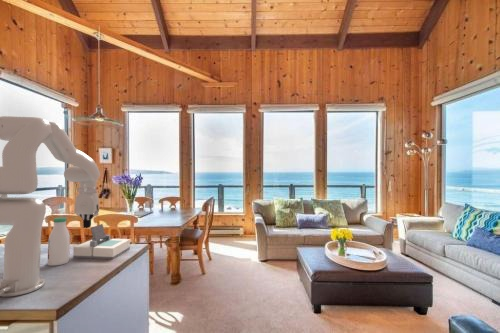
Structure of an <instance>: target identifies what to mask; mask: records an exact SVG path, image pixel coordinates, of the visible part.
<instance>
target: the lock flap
mask: <svg viewBox="0 0 500 333" xmlns="http://www.w3.org/2000/svg"><path fill="white" fill-rule="evenodd" d="M90 231H91V236H92V238H93V239H94V241H97V244H99V243H101V242H103V241H105V240H107V239H108V238H107V237H106V235H107V234H106V232H105V228H104V224H102V223H101V224H98V225H95V226H92V227H90Z"/></svg>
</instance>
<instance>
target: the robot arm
mask: <svg viewBox="0 0 500 333" xmlns="http://www.w3.org/2000/svg"><path fill="white" fill-rule="evenodd" d="M0 140H1V141H6V142H7V141H8V142H7V143H6V144H5V145H4V147H3V149H2V154H1V155H2V156H1V158H2V159H1V160H2V161H1V162H2V166H0V226H12V227H11V229H10V230H9V231H8V233H7V234H6V236H5V238H4V245H3V246H4V249H3V250H4V252H3V253H4V255H3V272H2V273H3V275H2V276H3V277H2V280H0V297H4V298H7V297H16V296H21V295H22V296H23V295H26V294H29V293H32V292H34V291H37V290H39V289H41V288H42V287H43V286H45V285H46V284H45V283H46V282H45V281H46V280H45V279H44V278H42V277H40V275H41V274H40V273H41V253H42V252H41V249H42V247H41V246H42V231H43V230H42V228H43V225H44V224H43V223H44V220H45V219H44V218H45V215H46V210H47V207H46V204H45V202H44V201H42V200H41V199H38V198H36V197H35V198H34V197H22V196H21V197H17V196H15V197H13V196H12V197H10V196H8V195H27V194H28V195H29V194H31V193H34V192H35V191H36V190H37V189H38V184H39V183H38V182H39V180H38V170H37V151H38V149H39V147H40V146H41V144H44V145H45V146H46V148H47V149H48V150H49V152H50V154H51V155H52V156H53V158H54V159H55V160H57V161H60V162H62V163H65V164H67V165H72V166H69V167H67V168H66V169H64V172H63V177H64V179H65V180H66V181H68V182H71V183H79V184H78V188H77V189H76V191H77V192H78V193H77V194H76V198H75V203H74V214H75V215H76V216H78V217H80V218H81V220H82V223H83V224H82V225H83V226H82V228H83V229H89V228H92V227H91V226H92V220H93V218H94V217H98V216H99V211H100V198H99V194H98V193H97V192H98V185H97V184H98V180H99V179H100V176H101V175H100V174H101V172H100V169H99V167H98V164H97V163H96V162H95V160H94V159H93V158H92V157H90V156H89V155H87V153H85V152H83V151H81V150H79V149H77V148H76V147H75V145H74V143H73V142H72V140H71V138H70V137H69V135H68V134H67V132H66V131H65V129H64V127H63V126H62V125H61V124H59V123H57V122H54V121H48V120H47V119H45V118H41V117H34V116H10V115H9V116H7V115H5V116H4V115H2V116H0Z"/></svg>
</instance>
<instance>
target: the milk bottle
mask: <svg viewBox="0 0 500 333" xmlns="http://www.w3.org/2000/svg"><path fill="white" fill-rule="evenodd" d="M67 219H68V218H67V217H64V216H61V217H60V216H59V217H54V218H53V227H52V230H51V232H50V234H49V236H48V241H47V244H48V245H47V265H48V266H52V267H53V266H55V267H56V266H60V265H65V264H68V263H69V261H70V249H71V248H70V247H71V235H70V231H69V229H68V228H67V224H66V223H67Z"/></svg>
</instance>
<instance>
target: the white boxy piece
mask: <svg viewBox="0 0 500 333" xmlns="http://www.w3.org/2000/svg"><path fill="white" fill-rule="evenodd" d="M105 235H106V237H107V238H108V239H107V240H105V241H103V242H101V243H99V244H97V241H94V239H93V237H92V238H91V239H90V240H87V241H84V242H82V243H80V244H78V245H75V246H73V256H72V258H74V259H97V260H98V259H99V260H114V259H116V258H117V257H119V256H120V255H122V254H124V253H126V252H127V251H129V250H130V248H131V239H130V238H128V239H127V238H111V237H112V236H111V234H105Z"/></svg>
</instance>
